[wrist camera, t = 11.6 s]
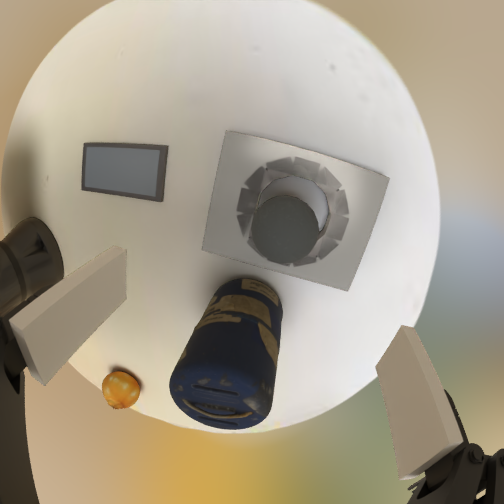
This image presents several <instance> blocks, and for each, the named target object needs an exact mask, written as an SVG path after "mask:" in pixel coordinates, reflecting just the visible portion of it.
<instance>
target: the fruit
mask: <svg viewBox="0 0 504 504" xmlns="http://www.w3.org/2000/svg"><path fill="white" fill-rule="evenodd" d="M102 391H103V395H104V397H105V399H106V400H107V402H108V404H109V405H110V406H111V407H113V408H115V409H119V408H121V409H122V408H128V407H130V406H132V405H133V404H135V402H136V401H137V400H138V398H139V395H140V388H139V385H138V383H137V381H136V380H135V379H134V378H133V377H132V376H130V375H129V374H127V373H124V372H120V371H117V372H112V373H110V374H109V375H107V376H106V377H105V379H104V380H103V383H102Z"/></svg>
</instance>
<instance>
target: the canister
mask: <svg viewBox="0 0 504 504" xmlns="http://www.w3.org/2000/svg"><path fill="white" fill-rule="evenodd" d="M282 316H283V311H282V305H281V302H280V300H279V298H278V297H277V295H276V294H275V293H274V292H273V291H272V290H271V289H270V288H269V287H268V286H266V285H265V284H263V283H261V282H259V281H256V280H251V279H237V280H233V281H230V282H228V283H226V284H224V285H223V286H221V287H220V288H219V289H218V290H217V291H216V293H215V294H214V296H213V298H212V299H211V301H210V303H209V305H208V307H207V309H206V311H205V312H204V314H203V316H202V318H201V320H200V321H199V323H198V324H197V326H196V327H195V328H194V331H193V334H192V336H191V337H190V339H189V341H188V343H187V345H186V347H185V349H184V351H183V353H182V355H181V357H180V359H179V361H178V363H177V365H176V367H175V369H174V371H173V373H172V375H171V378H170V383H169V388H170V393H171V396H172V398H173V400H174V402H175V403H176V405H177V406H178V407H179V408H180V409H181V410H182V411H183V412H184V413H185V414H187V415H188V416H189V417H191V418H192V419H194V420H196V421H198V422H200V423H203V424H204V425H208V426H211V427H215V428H220V429H229V430H237V429H245V428H249V427H252V426H255V425H257V424H259V423H260V422H262V421H263V420H264V419H265V418H266V417H267V416H268V414H269V412H270V410H271V407H272V402H273V395H274V386H275V378H276V370H277V360H278V354H279V348H280V337H281V321H282Z"/></svg>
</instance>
